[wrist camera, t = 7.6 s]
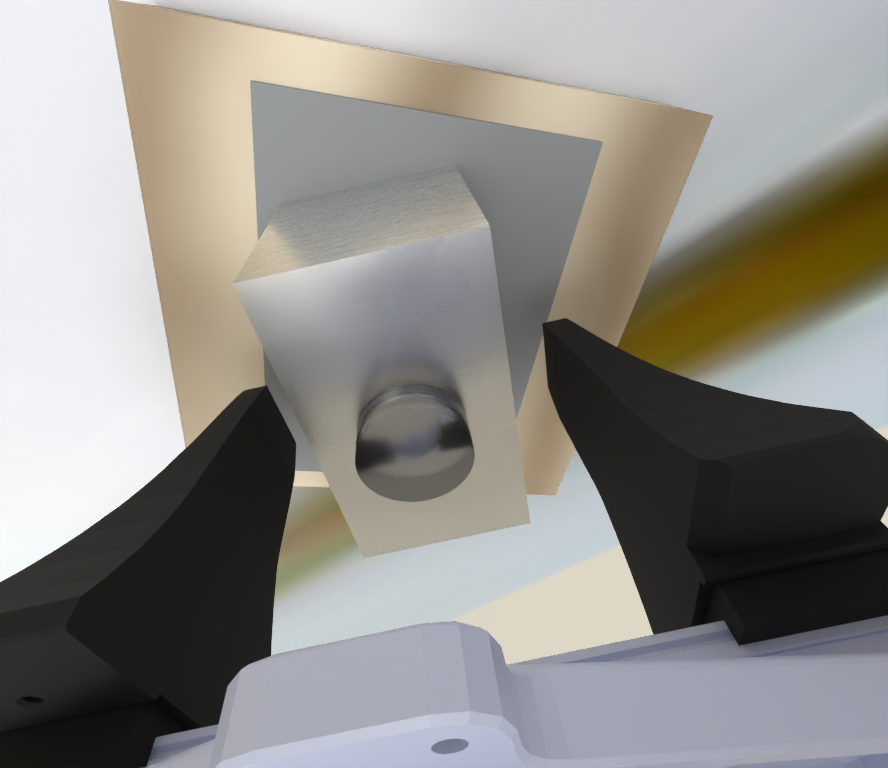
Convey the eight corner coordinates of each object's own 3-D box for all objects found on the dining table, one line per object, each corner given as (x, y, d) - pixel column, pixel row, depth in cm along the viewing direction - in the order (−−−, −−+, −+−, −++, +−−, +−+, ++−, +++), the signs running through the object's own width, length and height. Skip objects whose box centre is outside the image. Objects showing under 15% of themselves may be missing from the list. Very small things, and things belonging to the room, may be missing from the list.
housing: (453, 163, 12) (501, 246, 8) (494, 407, 17) (539, 555, 12) (280, 203, 12) (217, 310, 8) (367, 434, 17) (362, 592, 12)
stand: (666, 104, 15) (717, 116, 12) (539, 453, 22) (557, 498, 20) (153, 5, 12) (103, -2, 10) (210, 436, 20) (190, 486, 18)
